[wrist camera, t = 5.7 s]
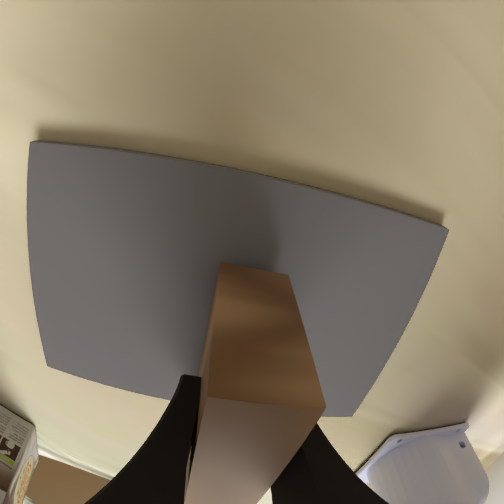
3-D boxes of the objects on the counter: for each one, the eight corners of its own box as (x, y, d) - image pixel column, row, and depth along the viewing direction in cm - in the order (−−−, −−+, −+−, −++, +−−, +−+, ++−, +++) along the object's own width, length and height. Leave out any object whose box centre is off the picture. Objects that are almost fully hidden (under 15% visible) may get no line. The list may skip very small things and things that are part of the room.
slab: (292, 275, 11) (332, 407, 6) (245, 410, 14) (249, 515, 9) (220, 261, 11) (206, 396, 6) (193, 403, 14) (182, 510, 9)
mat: (442, 225, 12) (449, 229, 12) (349, 409, 17) (352, 416, 16) (37, 140, 10) (30, 142, 10) (51, 359, 15) (47, 365, 14)
